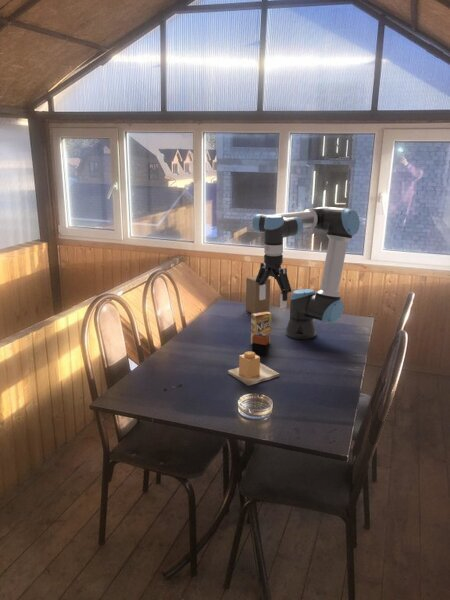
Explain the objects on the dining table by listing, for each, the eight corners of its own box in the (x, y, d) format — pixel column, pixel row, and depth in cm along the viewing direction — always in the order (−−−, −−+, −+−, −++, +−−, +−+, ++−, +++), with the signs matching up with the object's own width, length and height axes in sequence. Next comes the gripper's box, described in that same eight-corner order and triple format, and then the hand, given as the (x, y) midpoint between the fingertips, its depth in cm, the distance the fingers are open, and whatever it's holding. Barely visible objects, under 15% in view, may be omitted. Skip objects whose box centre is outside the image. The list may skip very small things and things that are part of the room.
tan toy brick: (250, 370, 207) (251, 349, 205) (259, 375, 202) (260, 354, 200) (238, 373, 204) (239, 352, 201) (247, 378, 199) (248, 357, 197)
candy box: (254, 346, 236) (255, 315, 231) (250, 343, 239) (251, 313, 235) (270, 343, 239) (271, 313, 235) (266, 340, 243) (267, 310, 239)
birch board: (258, 364, 216) (258, 350, 214) (279, 376, 205) (279, 361, 203) (228, 373, 207) (228, 358, 205) (248, 385, 196) (248, 370, 194)
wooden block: (269, 312, 285) (270, 278, 279) (254, 315, 280) (255, 281, 274) (259, 308, 293) (260, 275, 287) (245, 310, 288) (246, 277, 283)
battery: (265, 356, 224) (266, 336, 221) (251, 354, 227) (252, 333, 224) (268, 353, 228) (269, 333, 225) (255, 350, 230) (255, 330, 228)
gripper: (247, 250, 209) (247, 297, 216) (286, 261, 190) (285, 313, 196) (261, 247, 213) (261, 294, 220) (301, 258, 194) (299, 309, 200)
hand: (272, 303), depth 208 cm, fingers open, 13 cm apart
